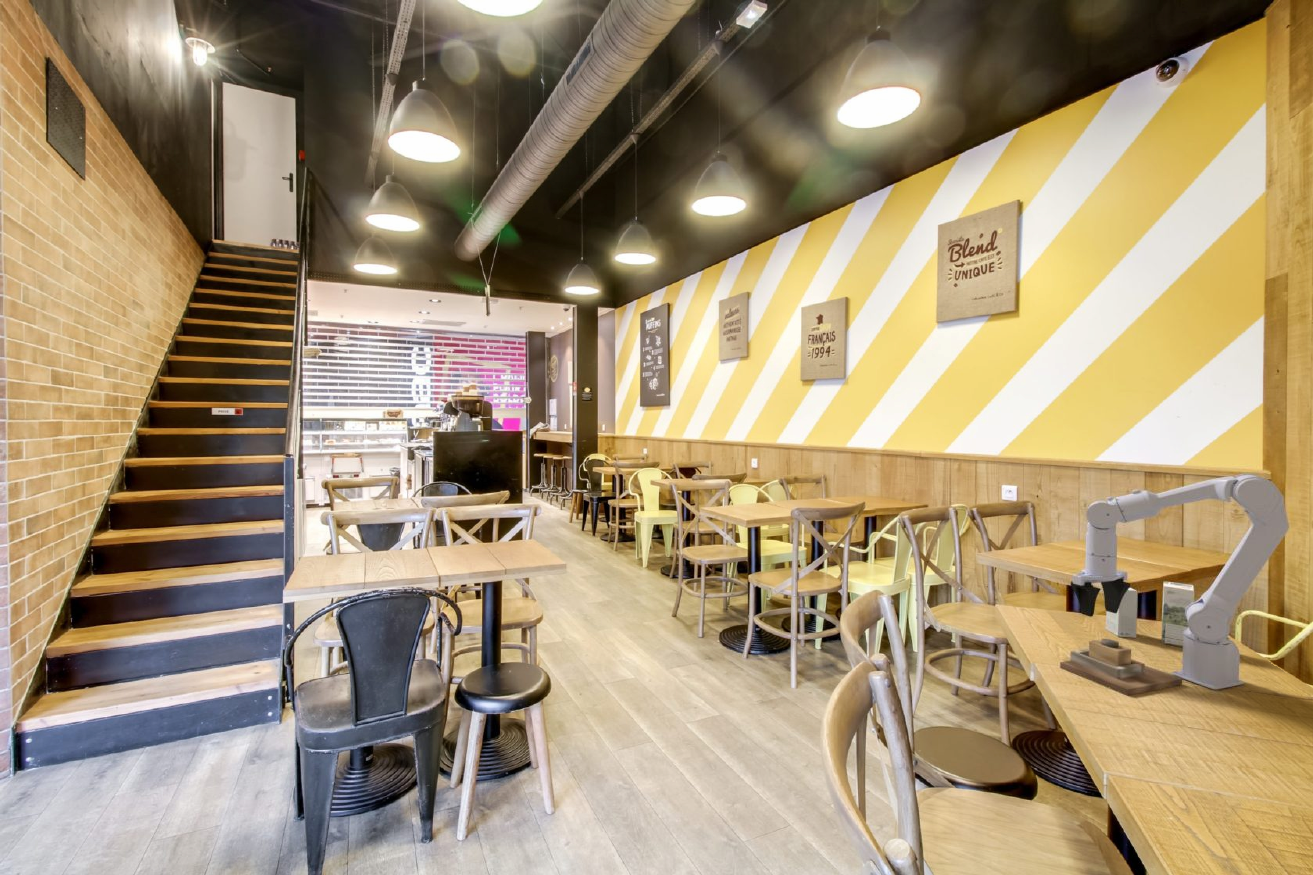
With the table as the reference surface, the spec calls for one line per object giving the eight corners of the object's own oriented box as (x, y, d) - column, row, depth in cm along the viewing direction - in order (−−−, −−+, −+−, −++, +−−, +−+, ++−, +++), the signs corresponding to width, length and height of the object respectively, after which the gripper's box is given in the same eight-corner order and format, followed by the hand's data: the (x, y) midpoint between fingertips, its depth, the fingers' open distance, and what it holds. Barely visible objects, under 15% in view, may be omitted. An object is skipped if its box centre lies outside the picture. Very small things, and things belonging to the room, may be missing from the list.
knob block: (1102, 661, 133) (1102, 635, 132) (1131, 672, 127) (1131, 645, 127) (1088, 663, 131) (1089, 637, 131) (1117, 674, 126) (1117, 647, 125)
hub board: (1112, 658, 137) (1112, 644, 137) (1182, 684, 124) (1182, 668, 124) (1060, 667, 132) (1060, 652, 132) (1127, 695, 119) (1127, 678, 119)
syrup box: (1192, 642, 147) (1193, 584, 147) (1192, 649, 143) (1194, 589, 142) (1161, 637, 151) (1163, 579, 151) (1161, 643, 147) (1163, 584, 146)
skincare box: (1137, 638, 150) (1138, 590, 150) (1117, 637, 151) (1119, 589, 151) (1123, 630, 156) (1124, 584, 156) (1105, 628, 157) (1106, 583, 157)
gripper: (1105, 548, 143) (1104, 605, 143) (1060, 552, 138) (1059, 611, 138) (1137, 555, 136) (1136, 614, 136) (1091, 559, 131) (1089, 621, 132)
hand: (1099, 613), depth 137 cm, fingers open, 7 cm apart
